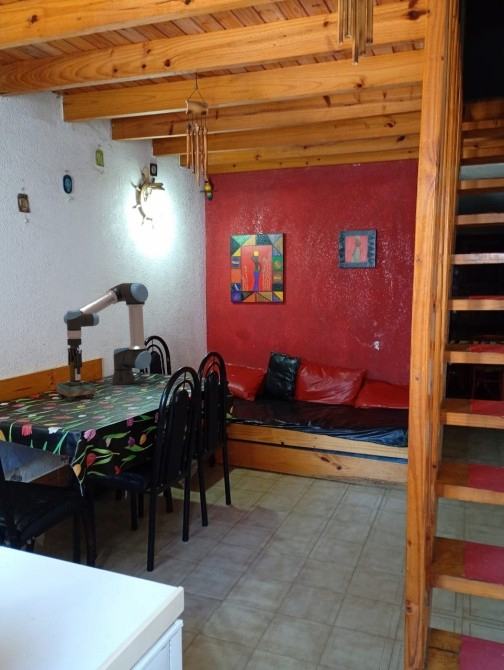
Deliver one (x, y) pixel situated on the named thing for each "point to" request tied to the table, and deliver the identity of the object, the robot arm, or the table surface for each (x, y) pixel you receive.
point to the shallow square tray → (75, 389)
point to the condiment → (73, 372)
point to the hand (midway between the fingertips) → (75, 379)
